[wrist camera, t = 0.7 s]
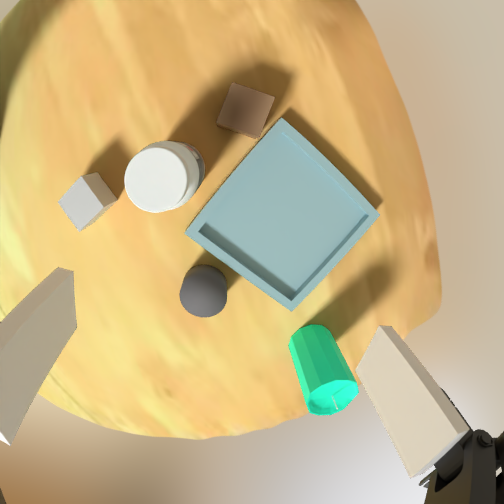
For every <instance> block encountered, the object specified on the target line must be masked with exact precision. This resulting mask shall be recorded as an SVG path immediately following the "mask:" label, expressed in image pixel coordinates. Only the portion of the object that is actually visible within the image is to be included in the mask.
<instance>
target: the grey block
mask: <svg viewBox="0 0 504 504" xmlns="http://www.w3.org/2000/svg"><path fill="white" fill-rule="evenodd" d="M117 200H118V199H117V198H116V197H115V195H114V194H113V193H112V191H111V190H110V189H109V187H108V186H107V185H106V183H105V182H104V181H103V179H102V178H101V176H100V175H99V174H98V172H96V173H92V174H87V175H83V176H81V177H80V178H79V179H78V180H77V181H76V182H75V183H74V184H73V185H72V186H71V188H70V189H69V190H68V191H67V192H66V193H65V194H64V195H63V197H62V198H61V199H60V200H59V201H58V203H59V205H60V206H61V207H62V209H63V210H64V212H65V213H66V214H67V216H68V217H69V219H70V220H71V221H72V223H73V224H74V225H75V227H76V228H77V229H78V231H79V232H80V231H81V230H83V229H85V228H86V227H88V226H89V225H91V224H92V223H94V222H95V221H96V220H97V219H98V218H99V217H100V216H101V215H102V214H104V213H105V212H106V211H107V210H108V209H109V208H110V207H111V206H112V205H113V204H114V203H115V202H116V201H117Z"/></svg>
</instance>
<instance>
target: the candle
mask: <svg viewBox="0 0 504 504" xmlns="http://www.w3.org/2000/svg"><path fill="white" fill-rule="evenodd" d="M289 349H290V352H291V356H292V359H293V362H294V365H295V369H296V372H297V375H298V379H299V382H300V385H301V389H302V392H303V395H304V399H305V402H306V405H307V407H308V410H309V413H312V414H315V415H332V414H334V413H337V412H339V411H341V410H343V409H344V408H345V407H346V406H347V405H348V404H349V403H350V402H351V401H352V400H353V399H354V397H355V396H356V395H357V394H358V393H359V391H358V386H357V382H356V380H355V378H354V376H353V374H352V372H351V370H350V368H349V367H348V365H347V363H346V361H345V359H344V357H343V355H342V353H341V351H340V349H339V347H338V345H337V343H336V342H335V340H334V338H333V336H332V334H331V332H330V330H328V329H327V328H326V327H324V326H323V325H314V324H310V325H308V326H305V327H303V328H300V329H299V330H298V331H297V332H296V333H295V334H293V335H292V336H291V339H290V343H289Z"/></svg>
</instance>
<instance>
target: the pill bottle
mask: <svg viewBox="0 0 504 504" xmlns="http://www.w3.org/2000/svg"><path fill="white" fill-rule="evenodd" d="M204 176H205V162H204V159H203V157H202V155H201V154H200V152H199V151H198V150H197V149H196V148H195V147H193V146H192V145H190V144H187V143H184V142H176V141H159V142H155V143H152V144H150V145H148V146H146V147H145V148H144V149H142V150H141V151H140V152H139V153H137V154H136V155H135V156H134V157H133V158H132V159H131V161H130V162H129V164H128V166H127V169H126V172H125V177H124V183H125V189H126V192H127V194H128V196H129V198H130V200H131V201H132V202H133V203H134V204H135V205H136V206H137V207H139V208H140V209H142V210H145V211H148V212H155V213H156V212H163V211H166V210H171V209H175V208H178V207H180V206H182V205H183V204H185V203H186V202H187V201H188V200H189V199H190V198H191V197H192V196H193V195H194V193H195V192H196V190H197V189H198V188H199V186H200V185H201V183H202V181H203V179H204Z"/></svg>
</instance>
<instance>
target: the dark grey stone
mask: <svg viewBox="0 0 504 504" xmlns="http://www.w3.org/2000/svg"><path fill="white" fill-rule="evenodd" d="M180 301H181V303H182V305H183V307H184V308H185V309H186V310H187V311H188V312H189V313H191V314H193V315H195V316H198V317H211V316H214V315H216V314H218V313H219V312H220V311H221V310H222V309H223V308H224V306H225V304H226V301H227V282H226V278H225V276H224V275H223V273H222V272H221V271H220V270H219V269H217V268H215V267H213V266H210V265H198V266H195V267H193V268H191V269H190V270H189V271H188V272H187V273H186V275H185V277H184V280H183V283H182V287H181V290H180Z"/></svg>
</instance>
